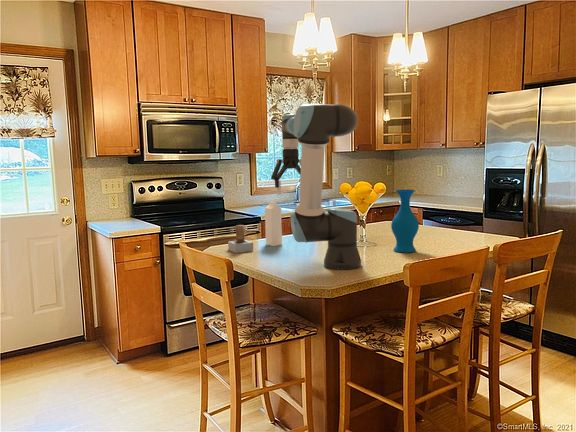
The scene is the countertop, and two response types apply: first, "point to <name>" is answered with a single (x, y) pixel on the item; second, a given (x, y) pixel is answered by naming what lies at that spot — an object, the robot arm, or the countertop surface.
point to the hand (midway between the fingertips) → (291, 193)
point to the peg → (240, 234)
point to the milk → (273, 224)
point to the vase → (404, 224)
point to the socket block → (240, 246)
